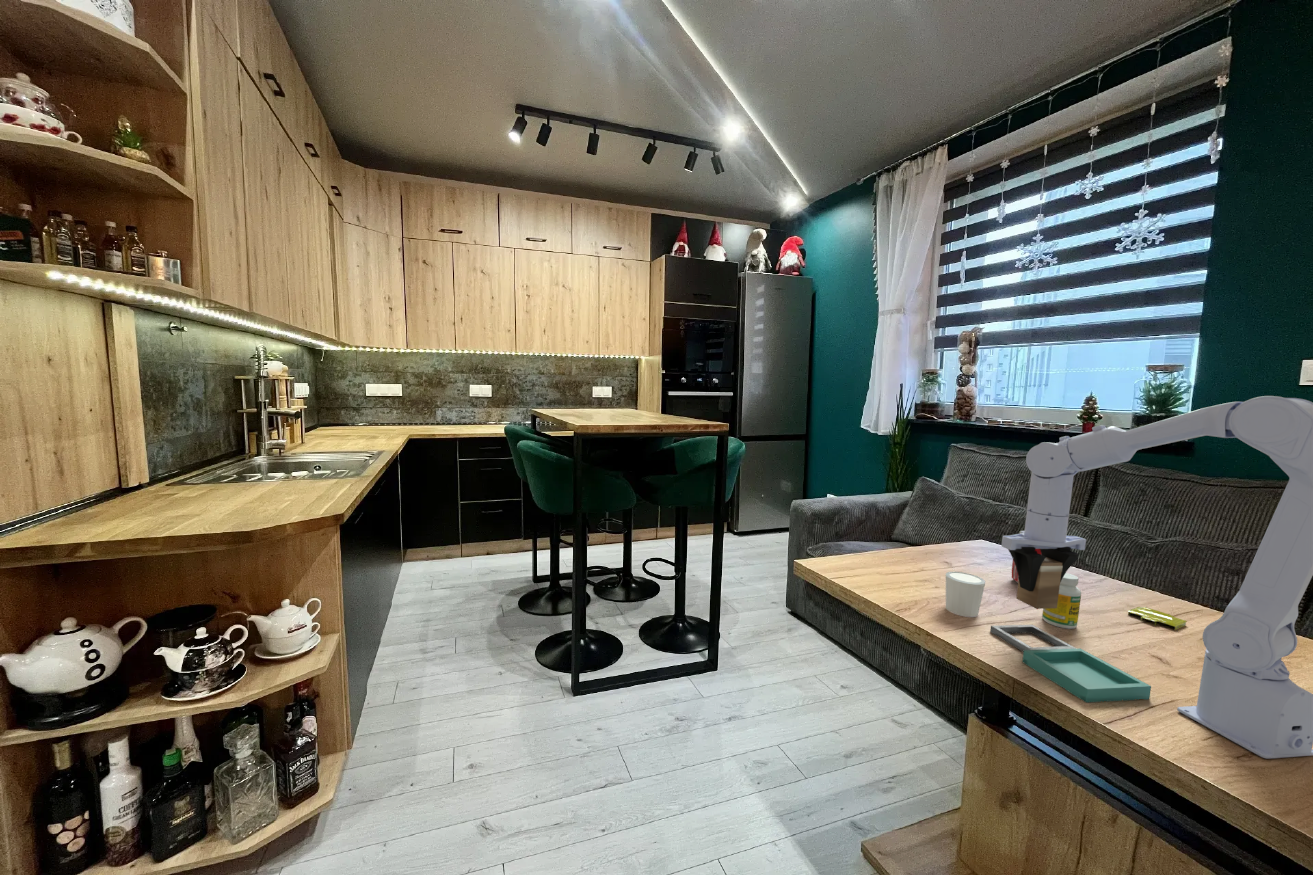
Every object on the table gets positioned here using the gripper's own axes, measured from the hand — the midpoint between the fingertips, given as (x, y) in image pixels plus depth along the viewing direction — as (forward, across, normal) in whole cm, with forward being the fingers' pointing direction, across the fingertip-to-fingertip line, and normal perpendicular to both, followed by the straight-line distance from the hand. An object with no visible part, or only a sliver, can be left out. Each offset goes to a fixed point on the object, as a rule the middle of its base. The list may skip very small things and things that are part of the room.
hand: (1038, 588), depth 88 cm
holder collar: (+10, 0, 0) cm, 10 cm away
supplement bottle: (+10, -13, -7) cm, 18 cm away
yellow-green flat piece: (+11, -35, -7) cm, 37 cm away
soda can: (+10, -25, -26) cm, 37 cm away
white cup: (+10, +3, -13) cm, 17 cm away
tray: (+10, +2, +11) cm, 15 cm away
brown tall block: (+3, 0, 0) cm, 3 cm away
